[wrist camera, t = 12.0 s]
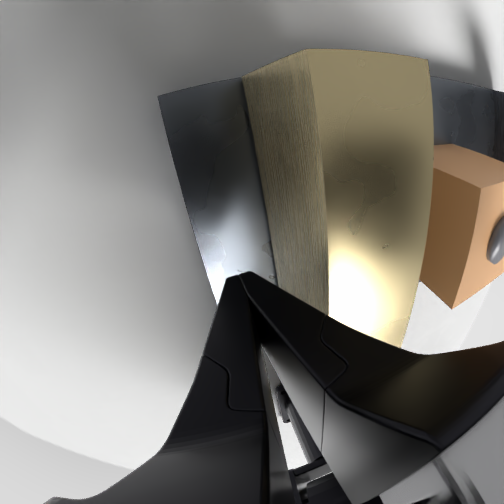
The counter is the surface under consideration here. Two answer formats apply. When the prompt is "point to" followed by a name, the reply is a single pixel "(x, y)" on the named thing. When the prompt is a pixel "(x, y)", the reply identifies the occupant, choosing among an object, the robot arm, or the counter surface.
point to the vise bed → (247, 170)
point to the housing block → (464, 224)
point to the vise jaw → (346, 180)
